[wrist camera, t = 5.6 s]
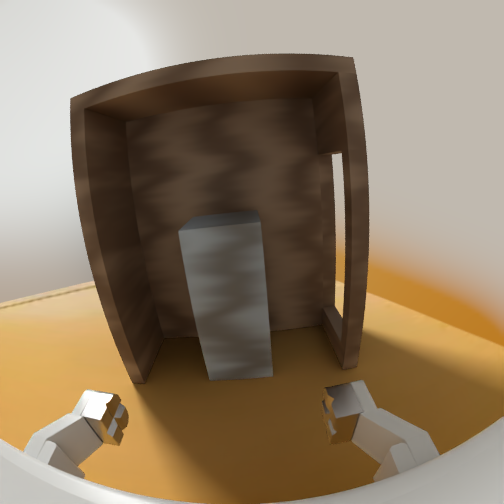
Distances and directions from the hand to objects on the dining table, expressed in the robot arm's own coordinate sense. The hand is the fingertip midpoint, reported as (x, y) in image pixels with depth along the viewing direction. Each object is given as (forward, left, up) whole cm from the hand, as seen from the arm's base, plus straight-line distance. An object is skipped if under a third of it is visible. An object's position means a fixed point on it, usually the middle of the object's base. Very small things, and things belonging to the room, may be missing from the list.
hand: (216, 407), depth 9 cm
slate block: (0, +12, -7) cm, 13 cm away
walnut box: (0, +13, -7) cm, 14 cm away
